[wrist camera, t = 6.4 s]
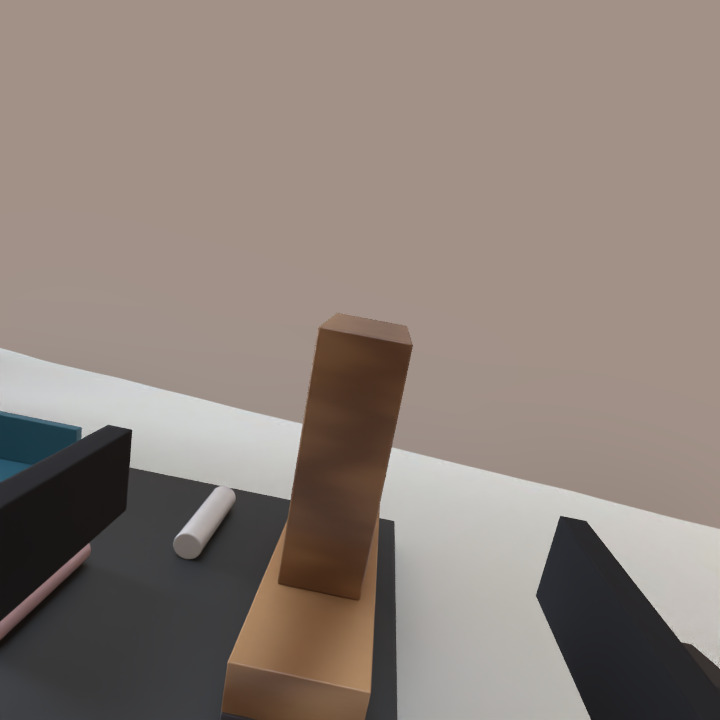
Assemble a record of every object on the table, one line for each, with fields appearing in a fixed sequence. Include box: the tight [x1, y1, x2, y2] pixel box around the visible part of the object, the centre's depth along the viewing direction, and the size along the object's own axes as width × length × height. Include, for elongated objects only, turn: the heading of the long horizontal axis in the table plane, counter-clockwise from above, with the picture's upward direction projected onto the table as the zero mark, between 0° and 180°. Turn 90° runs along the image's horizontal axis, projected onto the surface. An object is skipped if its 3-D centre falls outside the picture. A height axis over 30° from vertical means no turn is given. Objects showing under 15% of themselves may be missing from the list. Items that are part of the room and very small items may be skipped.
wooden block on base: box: [220, 313, 413, 720], centre depth 18 cm, size 4×12×12 cm, turn 176°
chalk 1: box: [0, 543, 91, 641], centre depth 17 cm, size 1×5×1 cm, turn 176°
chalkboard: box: [0, 468, 397, 720], centre depth 20 cm, size 20×15×2 cm
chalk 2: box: [173, 486, 236, 559], centre depth 22 cm, size 1×5×1 cm, turn 176°
